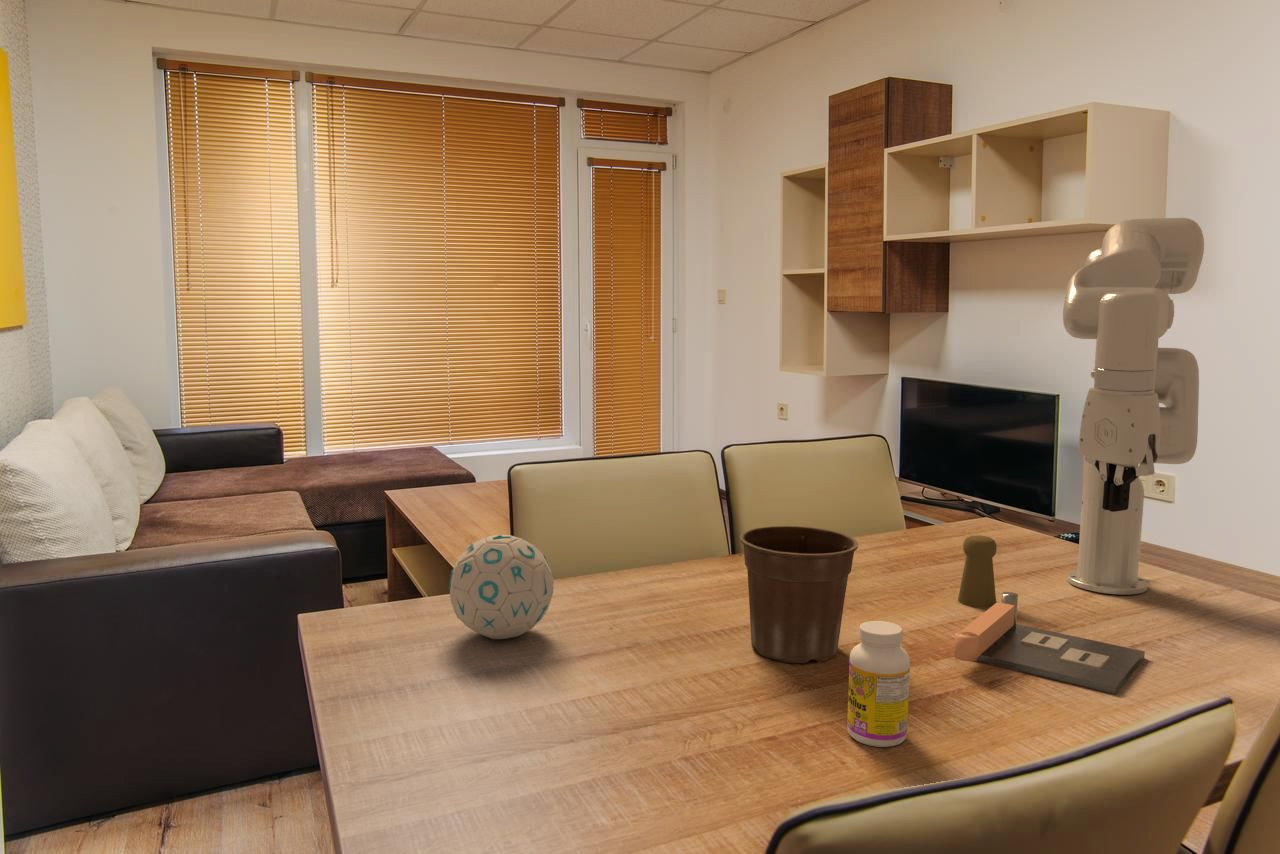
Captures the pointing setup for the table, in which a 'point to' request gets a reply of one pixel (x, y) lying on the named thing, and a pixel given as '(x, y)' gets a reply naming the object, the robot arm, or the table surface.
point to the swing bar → (983, 631)
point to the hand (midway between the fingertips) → (1115, 509)
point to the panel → (1062, 656)
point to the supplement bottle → (878, 686)
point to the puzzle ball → (501, 586)
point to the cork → (978, 572)
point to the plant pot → (797, 590)
